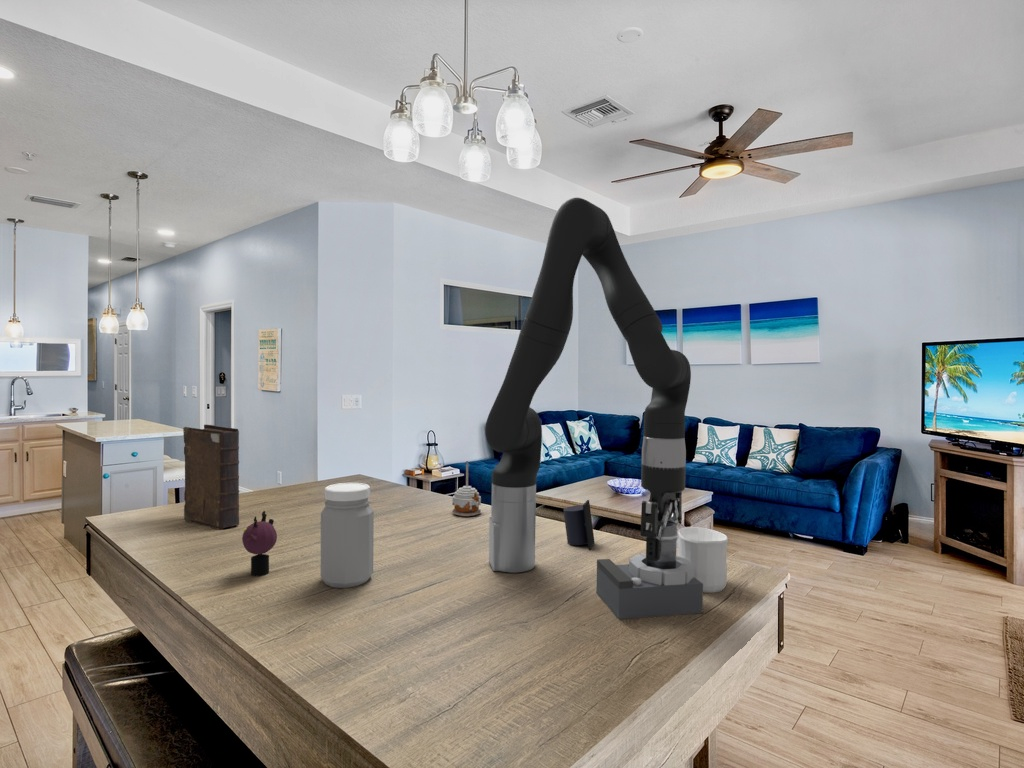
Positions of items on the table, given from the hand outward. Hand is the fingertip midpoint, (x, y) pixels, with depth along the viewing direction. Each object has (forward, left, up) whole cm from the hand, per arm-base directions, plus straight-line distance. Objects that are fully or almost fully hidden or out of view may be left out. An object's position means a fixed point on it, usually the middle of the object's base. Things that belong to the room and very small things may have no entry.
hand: (661, 553), depth 100 cm
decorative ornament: (-27, +65, -9) cm, 71 cm away
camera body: (-2, 0, -9) cm, 9 cm away
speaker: (-4, +34, -9) cm, 35 cm away
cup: (+12, +7, -9) cm, 16 cm away
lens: (0, 0, -4) cm, 4 cm away
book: (-93, +64, -9) cm, 114 cm away
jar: (-55, +19, -9) cm, 59 cm away
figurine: (-72, +25, -9) cm, 77 cm away
